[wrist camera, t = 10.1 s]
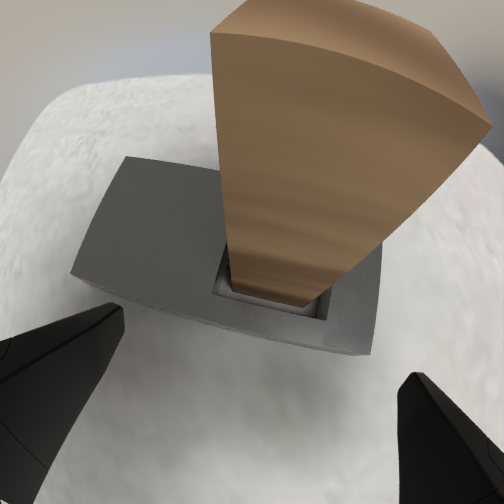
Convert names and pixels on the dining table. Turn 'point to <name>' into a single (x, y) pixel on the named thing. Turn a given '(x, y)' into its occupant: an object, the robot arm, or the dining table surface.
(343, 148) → the walnut post
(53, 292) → the dining table surface
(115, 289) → the grey slotted base plate
